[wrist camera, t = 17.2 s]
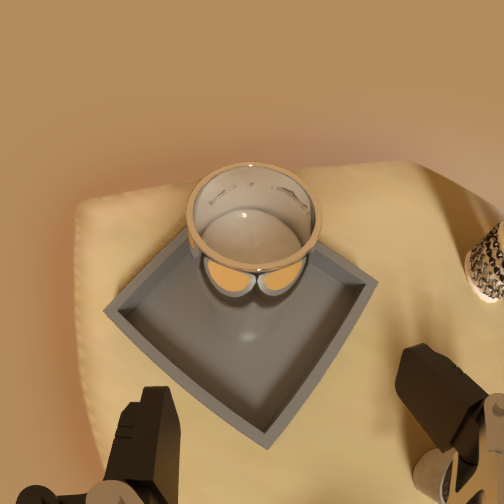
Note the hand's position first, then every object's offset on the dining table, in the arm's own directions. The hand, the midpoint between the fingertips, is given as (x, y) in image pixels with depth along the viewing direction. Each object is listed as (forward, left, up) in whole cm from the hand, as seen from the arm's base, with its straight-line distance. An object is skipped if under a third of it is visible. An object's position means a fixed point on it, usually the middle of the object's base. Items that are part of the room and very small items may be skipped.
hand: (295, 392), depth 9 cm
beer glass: (-6, -6, -17) cm, 19 cm away
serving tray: (-6, -6, -17) cm, 19 cm away
